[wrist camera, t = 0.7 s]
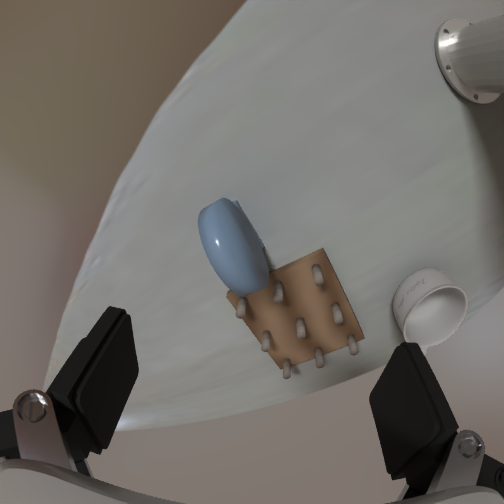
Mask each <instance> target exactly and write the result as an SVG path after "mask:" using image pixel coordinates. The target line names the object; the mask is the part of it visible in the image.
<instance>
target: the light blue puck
mask: <svg viewBox="0 0 504 504" xmlns="http://www.w3.org/2000/svg"><path fill="white" fill-rule="evenodd" d="M198 227H199V233H200V237H201V241H202V244H203V247H204V250H205V252H206V254H207V257H208V259H209V261H210V263H211V265H212V266H213V268H214V270H215V271H216V273H217V274H218V276H219V277H220V279H221V280H222V281H223V282H224V284H225V285H226V286H227V287H228V288H229V289H230V290H231V291H233V292H234V293H235V294H237V295H239V296H243V297H245V296H248V295H251V294H253V293H255V292H257V291H260V290H262V289H264V288H266V287H267V286H268V285H269V280H270V276H269V269H268V264H267V261H266V257H265V254H264V252H263V248H264V244H263V243H262V241H261V239H260V238H259V236H258V234H257V233H256V231H255V229H254V228H253V226H252V224H251V223H250V221H249V220H248V218H247V216H246V215H245V213H244V211H243V210H242V208H241V206H240V205H239V203H238V201H237V200H236V201H234V202H231V201H230V200H228V199H226V198H221V199H219V200H218V201H216V202H214V203H212V204H211V205H209V206H207V207H205V208H204V209H202V210H201V212H200V214H199V218H198Z"/></svg>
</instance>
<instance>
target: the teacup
mask: <svg viewBox="0 0 504 504" xmlns="http://www.w3.org/2000/svg"><path fill="white" fill-rule="evenodd" d="M467 308H468V299H467V295H466V293H465V292H464V291H463V289H461V288H460V287H458V285H457V284H456V283H455V282H454V281H453V280H452V279H451V278H450V277H449V276H448V275H446V274H445V273H444V272H442V271H440V270H438V269H434V268H425V269H421V270H418V271H416V272H414V273H412V274H411V275H409V276H408V277H407V278H406V279H405V280H404V281H403V282H402V283H401V285H400V286H399V288H398V289H397V291H396V293H395V296H394V300H393V313H394V316H395V319H396V321H397V323H398V325H399V327H400V329H401V331H402V333H403V337H404V339H405V341H406V342H416V343H418V345H419V346H420V348H421V350H422V352H423V354H424V356H426V354H427V351H428V348H429V347H433V346H436V345H438V344H440V343H442V342H444V341H445V340H446V339H448V338H449V337H450V336H451V335H452V334H453V333H454V332H455V331H456V330H457V329H458V328H459V326H460V325H461V323H462V322H463V320H464V318H465V315H466V313H467Z"/></svg>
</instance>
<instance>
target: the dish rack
mask: <svg viewBox="0 0 504 504" xmlns="http://www.w3.org/2000/svg"><path fill="white" fill-rule="evenodd" d="M269 276H270V280H269V285H268V286H267V287H266V288H264V289H262V290H260V291H257V292H255V293H253V294H251V295H248V296H245V297H243V296H239V295H237V294H235V293H234V292H233V291H231V290H229V291H228V293H227V296H226V297H227V299H228V300H229V301H230V303H231V304H232V305H233V307H234V308H235V310H236V317H237V318H240V319H241V318H242V319H243V320H244V322H245V323H246V325H247V326H248V327H249V329H250V330H251V331H252V333H253V334H254V335H255V337H256V338H257V339H258V341H259V342H260V343H261V345H262V348H261V350H262V351H264V352H268V354H269V355H270V356H271V358H272V359H273V360H274V362H275V363H276V364H277V365H278V367H279V368H280V369H283V378H285V379H289V378H290V377H291V366H292V365H295V364H298V363H301V362H304V361H307V360H310V359H313V358H315V360H316V367H317V368H322V367H323V366H324V362H323V355H324V354H326V353H329V352H332V351H334V350H337V349H339V348H342V347H344V346H347V345H349V349H350V353H351V355H356V354H357V353H358V348H357V344H356V342H357V341H359V340H362V339H364V335H363V332H362V330H361V328H360V325H359V323H358V321H357V318H356V316H355V314H354V312H353V310H352V307H351V305H350V303H349V301H348V299H347V297H346V294H345V292H344V290H343V288H342V286H341V284H340V282H339V279H338V277H337V275H336V273H335V271H334V269H333V267H332V265H331V263H330V261H329V259H328V257H327V255H326V253H325V251H324V249H323V248H322V249H320V250H317V251H315V252H313V253H311V254H309V255H307V256H304V257H302V258H300V259H298V260H296V261H294V262H292V263H289V264H287V265H285V266H283V267H281V268H278V269H276V270H274V271H272V272H270V273H269Z"/></svg>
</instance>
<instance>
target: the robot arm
mask: <svg viewBox="0 0 504 504" xmlns="http://www.w3.org/2000/svg"><path fill="white" fill-rule="evenodd" d="M435 51H436V57H437V60H438V63H439V66H440V68H441V71H442V73H443V75H444V76H445V78H446V80H447V81H448V82H449V84H450V85H451V86H452V88H453V89H454V90H455V91H456V92H457V93H458V94H459V95H461V96H462V97H463V98H465V99H467V100H469V101H471V102H474V103H479V104H487V103H491V102H493V101H495V100H496V99H497V98H498V97H499V96H500V94H504V15H501V16H498V17H494V18H491V19H487V20H484V21H481V22H478V23H475V24H474V23H473V22H470V21H468V20H465V19H452V20H449V21H447V22H445V23H443V24H442V26H441V27H440V28H439V30H438V32H437V34H436V39H435ZM138 372H139V367H138V361H137V355H136V350H135V343H134V337H133V330H132V323H131V317H130V315H128V314H127V313H126V311H125V310H124V309H121V308H116V307H111V306H109V307H108V308H107V309H106V310H105V312H104V313H103V314H102V316H101V317H100V319H99V320H98V321H97V323H96V324H95V325H94V327H93V328H92V330H91V331H90V332H89V334H88V335H87V337H86V338H83V339H82V340H81V341H80V342H79V344H78V345H77V346H76V348H75V349H74V351H73V352H72V354H71V355H70V357H69V358H68V359H67V361H66V362H65V364H64V365H63V367H62V368H61V370H60V371H59V373H58V374H57V376H56V377H55V379H54V381H53V382H52V384H51V385H50V387H49V388H48V390H47V391H46V393H45V392H43V391H41V390H36V389H33V390H32V389H31V390H27V391H24V392H22V393H21V394H20V395H18V397H17V398H16V399H15V401H14V404H13V409H11V410H7V411H3V412H0V504H184V503H179V502H175V501H170V500H166V499H161V498H157V497H153V496H149V495H146V494H142V493H138V492H135V491H131V490H128V489H125V488H121V487H118V486H114V485H112V484H109V483H106V482H103V481H100V480H98V479H95V478H94V476H93V474H92V472H91V470H90V467H89V464H88V462H87V460H86V458H87V457H88V455H89V452H90V451H91V452H94V453H96V454H99V455H100V454H101V452H102V449H107V448H108V446H109V444H110V441H111V438H112V436H113V433H114V431H115V429H116V426H117V424H118V421H119V419H120V416H121V414H122V412H123V409H124V407H125V404H126V402H127V400H128V397H129V395H130V393H131V390H132V388H133V386H134V384H135V381H136V379H137V377H138ZM369 401H370V405H371V409H372V413H373V417H374V420H375V424H376V428H377V432H378V436H379V440H380V444H381V448H382V452H383V456H384V461H385V465H386V470H387V472H388V473H389V474H391V478H392V480H397V479H402V478H406V482H407V483H406V485H405V486H404V488H403V490H402V492H401V494H400V495H399V497H398V499H397V501H396V502H391V503H386V504H504V464H503V463H500V462H499V461H497V460H495V459H493V458H491V457H489V456H488V455H486V454H484V452H485V446H484V442H483V440H482V438H481V437H480V436H479V435H478V434H477V433H475V432H474V431H471V430H463V431H460V432H459V433H457V431H456V430H457V429H458V428H459V426H458V424H457V422H456V420H455V417H454V415H453V413H452V411H451V409H450V406H449V404H448V402H447V400H446V398H445V396H444V394H443V391H442V389H441V387H440V385H439V383H438V381H437V379H436V377H435V375H434V373H433V371H432V369H431V367H430V365H429V363H428V361H427V360H426V358H425V356H424V354H423V352H422V350H421V348H420V346H419V345H418V343H416V342H403V343H401V344H400V346H397V347H396V349H395V350H394V352H393V354H392V356H391V358H390V360H389V362H388V364H387V365H386V367H385V369H384V371H383V373H382V374H381V376H380V378H379V380H378V381H377V383H376V385H375V387H374V388H373V390H372V392H371V393H370V397H369Z"/></svg>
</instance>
